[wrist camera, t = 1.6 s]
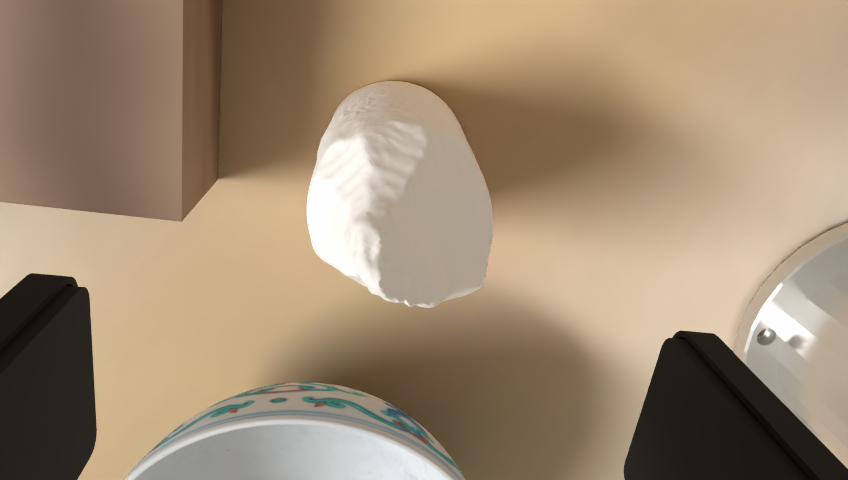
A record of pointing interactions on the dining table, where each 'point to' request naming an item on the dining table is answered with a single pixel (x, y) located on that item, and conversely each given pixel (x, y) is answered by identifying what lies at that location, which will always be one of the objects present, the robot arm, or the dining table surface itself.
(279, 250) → the dining table surface
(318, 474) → the chinaware
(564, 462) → the dining table surface
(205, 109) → the well block
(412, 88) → the white rounded piece
